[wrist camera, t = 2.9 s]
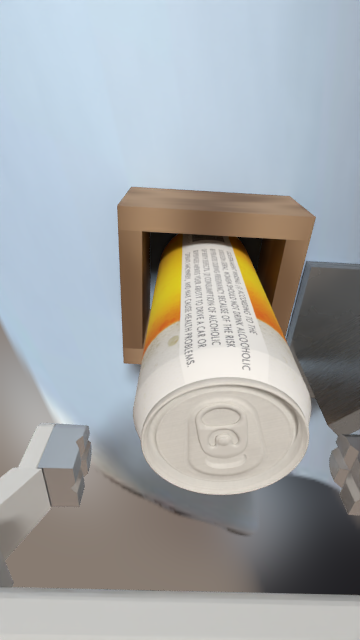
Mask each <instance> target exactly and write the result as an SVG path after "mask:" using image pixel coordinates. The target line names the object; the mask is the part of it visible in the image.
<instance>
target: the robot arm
mask: <svg viewBox="0 0 360 640" xmlns="http://www.w3.org/2000/svg"><path fill="white" fill-rule="evenodd" d="M89 434H90V431H89V426H87V425H71V424H52V423H40V424H39V425H38V426H37V427H36V430H35V432H34V434H33V436H32V438H31V440H30V443H29V445H28V447H27V450H26V451H25V453H24V456H23V458H22V460H21V462H20V464H19V466H18V468H12V469H11V470H9V471H8V472H7V473H6V474H4V475H3V476H2V477H1V478H0V640H360V595H327V594H285V593H283V594H282V593H242V592H198V591H197V592H194V591H154V590H111V589H109V590H108V589H67V588H23V587H12V586H13V580H12V578H11V575H10V572H9V570H8V567H7V565H6V562H5V560H6V559H7V558H8V557H9V555H10V554H11V553H12V552H13V551H14V550H15V549H16V548H17V546H18V545H19V544H20V543H21V542H22V541H23V540H24V539H25V537H26V536H27V535H28V534H29V533H30V532H31V531H32V529H33V528H34V527H35V526H36V525H37V524H38V523H39V522H40V520H41V519H42V518H43V517H44V516H45V515H46V514H47V512H48V511H49V510H50V509H51V507H79V506H80V501H81V498H82V494H83V490H84V478H83V477H84V476H85V475H86V474H87V473H88V471H89V467H90V461H91V442H90V441H88V438H89ZM336 444H337V446H338V447H337V448H336V449H334V450H333V451H332V452H331V455H330V458H329V468H330V472H331V475H332V478H333V480H334V482H336V483H337V484H338V485H339V486H340V487H341V491H340V497H341V499H342V501H343V504H344V506H345V508H346V511H347V513H348V515H360V435H349V434H341V435H340V436H338V438H337V440H336Z"/></svg>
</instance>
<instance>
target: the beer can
mask: <svg viewBox="0 0 360 640" xmlns="http://www.w3.org/2000/svg"><path fill="white" fill-rule="evenodd" d="M310 416H311V399H310V395H309V392H308V389H307V387H306V385H305V383H304V380H303V378H302V376H301V373H300V371H299V369H298V367H297V364H296V362H295V360H294V358H293V355H292V353H291V351H290V348H289V346H288V344H287V342H286V339H285V337H284V335H283V332H282V330H281V328H280V326H279V323H278V321H277V319H276V317H275V314H274V312H273V310H272V307H271V305H270V303H269V301H268V298H267V296H266V294H265V292H264V289H263V287H262V285H261V282H260V280H259V278H258V276H257V273H256V271H255V269H254V266H253V264H252V262H251V260H250V257H249V255H248V253H247V251H246V248H245V247H244V245H243V243H242V242H241V241H240V240H239V239H238V238H237V237H233V236H216V235H198V234H181V233H179V234H177V235H176V236H175V237H173V238H172V239H171V240H170V242H169V243H168V244H167V245H166V247H165V249H164V250H163V253H162V255H161V258H160V263H159V268H158V274H157V279H156V285H155V290H154V296H153V301H152V307H151V313H150V318H149V324H148V329H147V335H146V340H145V346H144V351H143V357H142V363H141V368H140V374H139V379H138V385H137V390H136V396H135V401H134V407H133V419H134V424H135V428H136V431H137V433H138V435H139V438H140V440H141V446H142V451H143V454H144V457H145V459H146V461H147V463H148V464H149V466H150V467H151V468H152V469H153V470H154V471H155V472H156V473H157V474H158V475H159V476H160V477H162V478H163V479H164V480H166V481H168V482H169V483H171V484H173V485H175V486H177V487H180V488H182V489H185V490H188V491H192V492H196V493H202V494H210V495H232V494H241V493H246V492H250V491H254V490H258V489H261V488H263V487H266V486H268V485H271V484H273V483H275V482H276V481H279V480H280V479H282V478H283V477H285V476H286V475H287V474H289V473H290V472H291V471H292V470H293V469H294V468H295V467H296V466H297V465H298V464H299V463H300V461H301V460H302V458H303V457H304V455H305V453H306V450H307V447H308V443H309V428H308V426H309V421H310Z"/></svg>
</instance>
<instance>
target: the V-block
mask: <svg viewBox="0 0 360 640" xmlns="http://www.w3.org/2000/svg"><path fill="white" fill-rule="evenodd" d="M286 342H287V344H288V346H289V348H290V351H291V353H292V355H293V358H294V360H295V362H296V364H297V367H298V369H299V371H300V373H301V376H302V378H303V380H304V383H305V385H306V387H307V389H308V392H309V395H310V398H316V400H317V403H318V405H319V407H320V409H321V411H322V414H323V416H324V418H325V420H326V422H327V425H328V426H329V427H330V428H331V429H332V430H333V431H334V432H335V433H336V434H337V435H338V436H340V435H341V434H351V433H353V432H355V431H357V430H359V429H360V264H346V263H329V262H311V261H307V263H306V266H305V270H304V274H303V278H302V282H301V286H300V290H299V293H298V297H297V301H296V305H295V309H294V313H293V316H292V320H291V324H290V328H289V332H288V336H287V340H286Z"/></svg>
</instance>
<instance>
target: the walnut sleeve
mask: <svg viewBox="0 0 360 640" xmlns="http://www.w3.org/2000/svg"><path fill="white" fill-rule="evenodd" d="M117 210H118V235H119V259H120V284H121V308H122V333H123V357H124V363H128V364H141V363H142V357H143V351H144V346H145V340H146V335H147V329H148V324H149V318H150V313H151V310H150V232H163V233H181V234H198V235H216V236H233V237H251V238H262V244H261V249H260V255H259V260H258V266H257V271H256V273H257V276H258V278H259V280H260V282H261V285H262V287H263V289H264V292H265V294H266V296H267V298H268V301H269V303H270V305H271V307H272V310H273V312H274V314H275V317H276V319H277V321H278V323H279V326H280V328H281V330H282V332H283V335H284V337H285V335H286V331H287V328H288V324H289V320H290V316H291V312H292V308H293V304H294V300H295V296H296V292H297V288H298V285H299V281H300V277H301V273H302V269H303V265H304V261H305V257H306V253H307V249H308V246H309V242H310V238H311V234H312V230H313V226H314V222H315V218H316V217H315V216H314V215H312V214H311V213H310V212H309V211H307V210H306V209H305V208H304V207H302V206H301V205H300V204H299V203H297V202H296V201H295V200H294V199H292V198H291V197H290V196H277V195H260V194H243V193H226V192H209V191H192V190H175V189H158V188H141V187H131V188H130V189H129V191H128V192H127V193H126V195H125V196H124V197H123V199H122V200H121V201H120V203H119V204H118V205H117Z"/></svg>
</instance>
